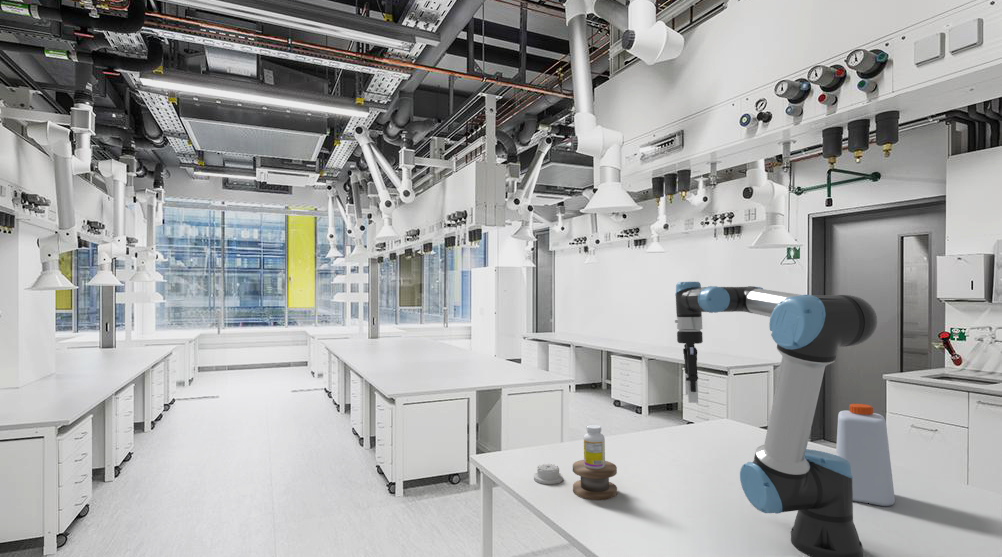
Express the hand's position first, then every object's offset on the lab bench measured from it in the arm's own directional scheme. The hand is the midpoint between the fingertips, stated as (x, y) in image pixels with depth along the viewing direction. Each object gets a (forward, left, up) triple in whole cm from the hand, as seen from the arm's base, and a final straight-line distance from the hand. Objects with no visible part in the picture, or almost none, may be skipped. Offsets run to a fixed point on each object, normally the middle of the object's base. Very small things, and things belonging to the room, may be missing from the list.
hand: (691, 398), depth 160 cm
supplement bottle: (+11, +28, -23) cm, 38 cm away
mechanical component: (+25, +40, -31) cm, 56 cm away
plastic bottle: (-11, -52, -31) cm, 61 cm away
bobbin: (+11, +28, -31) cm, 43 cm away
